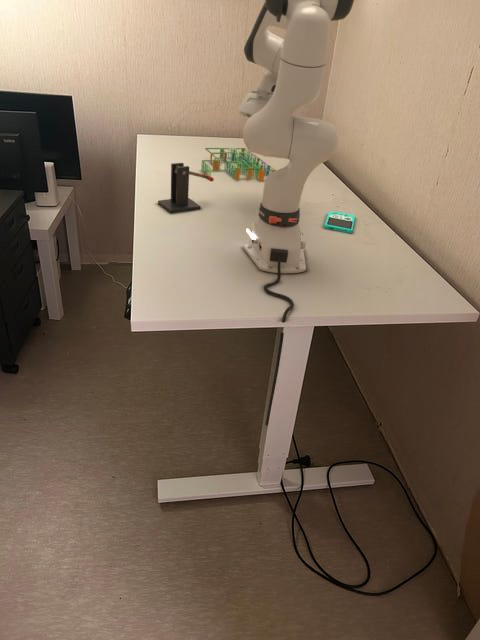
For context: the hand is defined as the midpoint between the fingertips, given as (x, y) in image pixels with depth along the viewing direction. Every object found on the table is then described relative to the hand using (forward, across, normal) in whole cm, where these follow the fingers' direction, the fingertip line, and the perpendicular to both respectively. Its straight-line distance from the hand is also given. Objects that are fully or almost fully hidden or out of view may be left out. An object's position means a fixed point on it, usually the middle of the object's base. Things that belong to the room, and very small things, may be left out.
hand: (251, 130), depth 159 cm
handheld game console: (+14, +25, +35) cm, 45 cm away
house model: (+8, -42, +32) cm, 54 cm away
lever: (+23, -10, -7) cm, 26 cm away
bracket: (+34, -11, -6) cm, 37 cm away
